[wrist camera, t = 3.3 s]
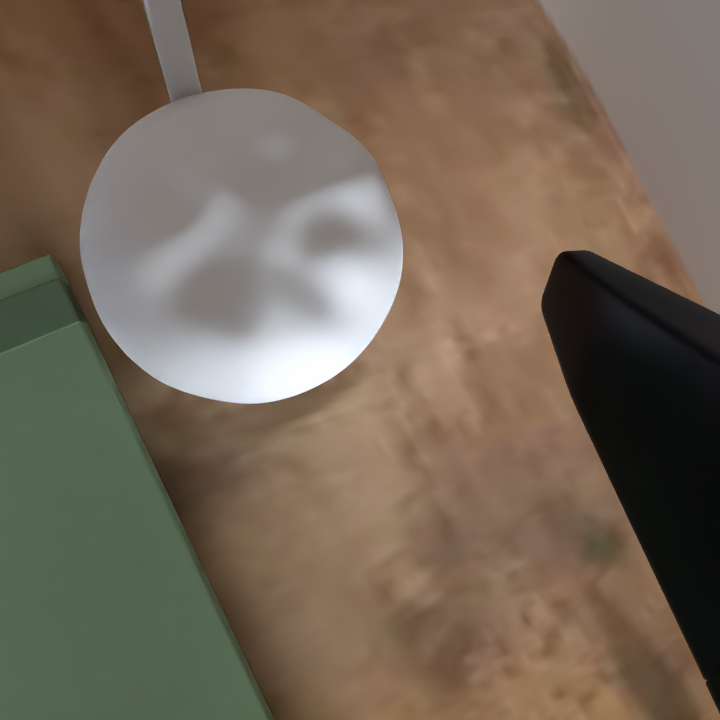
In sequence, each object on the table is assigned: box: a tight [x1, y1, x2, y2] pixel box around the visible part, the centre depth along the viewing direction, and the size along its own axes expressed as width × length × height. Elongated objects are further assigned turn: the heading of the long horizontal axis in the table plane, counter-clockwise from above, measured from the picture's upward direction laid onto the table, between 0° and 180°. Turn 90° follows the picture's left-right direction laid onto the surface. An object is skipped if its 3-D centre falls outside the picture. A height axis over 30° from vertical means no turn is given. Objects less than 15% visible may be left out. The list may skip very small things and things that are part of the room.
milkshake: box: [80, 0, 403, 404], centre depth 12 cm, size 5×5×10 cm
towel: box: [0, 255, 274, 720], centre depth 15 cm, size 20×9×1 cm, turn 25°
